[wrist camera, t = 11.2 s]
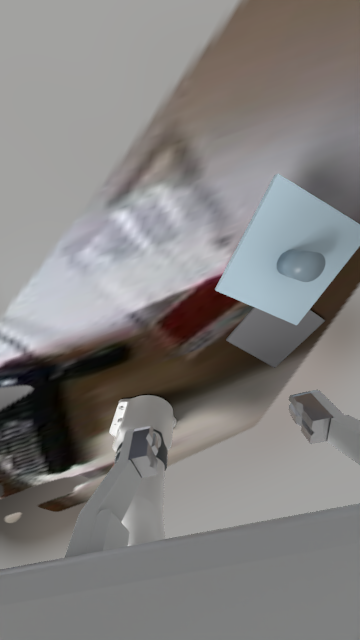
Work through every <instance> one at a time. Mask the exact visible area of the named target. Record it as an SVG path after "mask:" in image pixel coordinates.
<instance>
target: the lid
mask: <svg viewBox="0 0 360 640" xmlns="http://www.w3.org/2000/svg"><path fill="white" fill-rule="evenodd" d="M359 246H360V224H359V223H357V222H355V221H354V220H352V219H351V218H349V217H347V216H346V215H344V214H343V213H341V212H339V211H338V210H336V209H334V208H333V207H331V206H330V205H328V204H326V203H325V202H323V201H322V200H320V199H318V198H317V197H315V196H313V195H312V194H310V193H309V192H307V191H305V190H304V189H302V188H301V187H299V186H297V185H296V184H294V183H292V182H291V181H289V180H288V179H286V178H284V177H283V176H281V175H280V174H276V175H275V176H274V177H273V179H272V181H271V183H270V185H269V187H268V189H267V191H266V192H265V194H264V196H263V198H262V200H261V202H260V204H259V206H258V208H257V210H256V212H255V214H254V215H253V217H252V219H251V221H250V223H249V225H248V227H247V229H246V231H245V233H244V235H243V236H242V238H241V240H240V242H239V244H238V246H237V248H236V250H235V252H234V254H233V256H232V258H231V259H230V261H229V263H228V265H227V267H226V269H225V271H224V273H223V275H222V277H221V279H220V280H219V282H218V284H217V286H216V288H215V290H216V291H218V292H220V293H223V294H225V295H227V296H230V297H232V298H234V299H237V300H239V301H241V302H243V303H246V304H248V305H250V306H253V307H255V308H257V309H260V310H262V311H264V312H267V313H269V314H271V315H274V316H276V317H278V318H281V319H283V320H285V321H287V322H290V323H292V324H294V325H298V323H299V322H300V321H301V320H302V318H303V317H304V316H305V315H306V313H307V312H308V311H309V310H310V308H311V307H312V306H313V304H314V303H315V302H316V301H317V299H318V298H319V297H320V296H321V294H322V293H323V292H324V291H325V289H326V288H327V287H328V285H329V284H330V283H331V282H332V280H333V279H334V278H335V277H336V275H337V274H338V273H339V272H340V270H341V269H342V268H343V266H344V265H345V264H346V263H347V261H348V260H349V259H350V258H351V256H352V255H353V254H354V253H355V251H356V250H357V249H358V247H359Z"/></svg>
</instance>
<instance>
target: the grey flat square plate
mask: <svg viewBox="0 0 360 640" xmlns="http://www.w3.org/2000/svg"><path fill="white" fill-rule="evenodd" d="M324 321H325V320H323V319H322V318H321V317H319V316H318V315H316V314H315V313H314V312H312V311H311V310H309V311H308V312H307V313H306V315H305V316H304V317H303V318H302V320H301V321H300V322H299V323H298V325H294V324H292V323H290V322H287V321H285V320H283V319H281V318H278V317H276V316H274V315H271V314H269V313H267V312H264V311H262V310H260V309H257V308H255V307H253V308H252V309H251V311H250V312H249V313H248V314H247V315H246V316H245V318H244V319H243V320H242V321H241V322H240V324H239V325H238V326H237V327H236V328H235V329H234V331H233V332H232V333H231V334H230V335H229V336H228V338H227V339H226V340H227V341H228V342H230V343H232V344H233V345H235V346H237V347H239V348H241V349H242V350H244V351H246V352H248V353H249V354H251V355H253V356H255V357H256V358H258V359H260V360H262V361H263V362H265V363H267V364H269V365H270V366H272V367H274V368H275V367H276V366H277V365H278V364H279V363H280V362H282V361H283V360H284V359H285V358H286V357H287V356H288V355H289V354H290V353H291V352H292V351H293V350H294V349H295V348H296V347H298V346H299V345H300V344H301V343H302V342H303V341H304V340H305V339H306V338H307V337H308V336H309V335H310V334H311V333H312V332H313V331H315V330H316V329H317V328H318V327H319V326H320V325H321V324H322V323H323V322H324Z"/></svg>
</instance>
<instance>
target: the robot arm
mask: <svg viewBox="0 0 360 640" xmlns="http://www.w3.org/2000/svg"><path fill="white" fill-rule="evenodd" d="M289 401H290V402H291V404H290V405H289V411H290V414H291V416H292V418H293V420H294V421H295V423H296V424H298V425H300V426H301V427H302V428H301V431H302V433H303V434H304V436H305V437H306V439H307V440H308V441H309V443H310V444H312V443H318V442H324V441H327V442H328V443H329V444H331V445H332V446H333V447H335V448H336V449H338V450H339V451H341V452H342V453H344V454H345V455H346V456H348V457H349V458H351V459H352V460H354V461H355V462H356V463H358V464H359V465H360V420H358V419H355V418H353V417H351V416H349V415H344V414H343V413H342V412H341V411H340V410H339V409H338V408H337V407H336V406H335V405H334V404H333V403H332V402H331V401H329V399H328V398H327V397H326V396H325V395H324V394H323V393H321V392H320V391H319V390H313V391H309V392H303V393H299V394H295V395H291V396H290V397H289ZM176 422H177V420H176V419H175V417H174V416H173V409H172V407H171V405H170V404H169V403H168V402H167V401H166V400H164V399H162V398H160V397H157V396H153V395H142V396H138V397H135V398H131V399H121V400H120V401H119V404H118V406H117V409H116V412H115V415H114V418H113V421H112V424H111V427H110V431H109V432H110V434H111V435H113V436H114V437H115V439H114V442H113V446H112V447H113V449H114V451H115V452H116V455H115V464H114V465H113V467H112V468H111V470H110V471H109V473H108V474H107V475H106V477H105V478H104V480H103V481H102V482H101V484H100V485H99V487H98V488H97V489H96V491H95V492H94V494H93V495H92V496H91V498H90V499H89V501H88V502H87V503H86V505H85V507H84V508H83V509H82V510H81V512H80V513H79V516H78V519H77V522H76V526H75V528H74V531H73V534H72V537H71V540H70V543H69V546H68V549H67V552H66V555H65V558H60V559H55V560H49V561H44V562H39V563H34V564H28V565H23V566H18V567H12V568H6V569H0V640H360V503H359V504H354V505H348V506H343V507H337V508H332V509H327V510H321V511H316V512H310V513H305V514H299V515H294V516H288V517H283V518H278V519H272V520H267V521H261V522H256V523H250V524H245V525H239V526H234V527H229V528H224V529H218V530H212V531H207V532H202V533H196V534H191V535H185V536H180V537H174V538H169V539H165V532H164V519H163V504H164V474H165V470H166V468H167V461H168V457H167V452H168V450H169V449H170V448H171V443H172V433H173V427H174V426H175V425H176Z"/></svg>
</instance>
